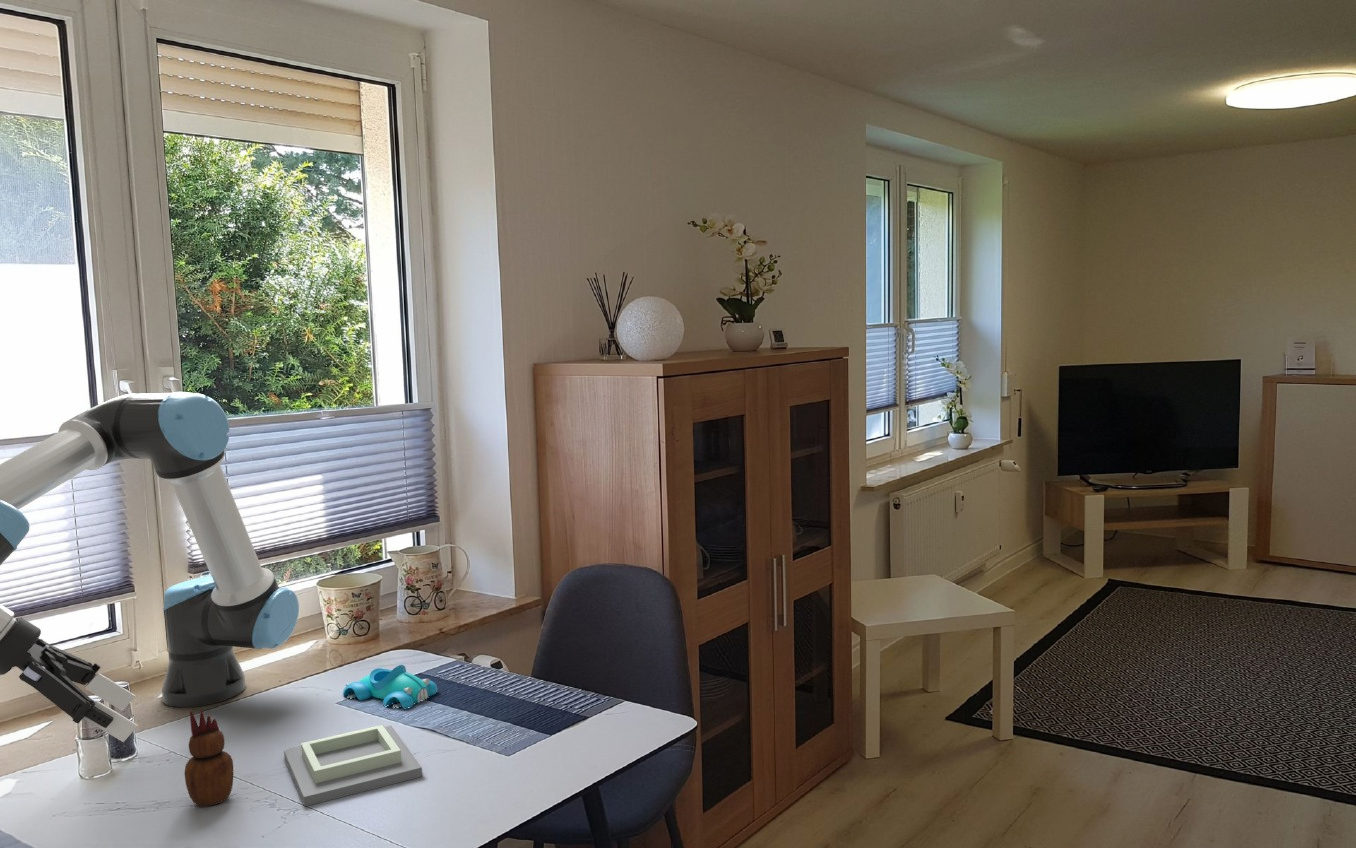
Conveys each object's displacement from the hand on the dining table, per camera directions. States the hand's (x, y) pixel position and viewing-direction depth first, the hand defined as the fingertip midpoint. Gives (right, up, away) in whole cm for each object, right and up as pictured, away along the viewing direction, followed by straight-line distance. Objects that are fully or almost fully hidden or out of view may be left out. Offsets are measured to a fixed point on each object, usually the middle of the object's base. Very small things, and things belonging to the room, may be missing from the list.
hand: (129, 717), depth 149 cm
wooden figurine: (+9, -15, +7) cm, 19 cm away
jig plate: (+27, -13, +17) cm, 35 cm away
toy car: (+24, -10, +49) cm, 56 cm away
